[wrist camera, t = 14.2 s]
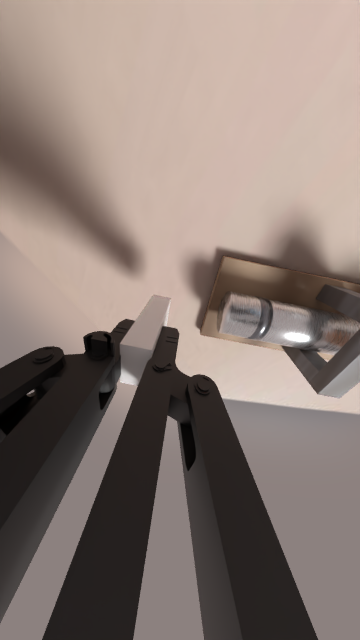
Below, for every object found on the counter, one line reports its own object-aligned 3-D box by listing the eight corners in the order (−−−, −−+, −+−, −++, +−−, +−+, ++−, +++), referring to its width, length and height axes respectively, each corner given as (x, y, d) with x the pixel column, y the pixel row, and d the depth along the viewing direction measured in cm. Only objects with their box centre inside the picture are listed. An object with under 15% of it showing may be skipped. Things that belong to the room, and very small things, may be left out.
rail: (200, 330, 19) (203, 376, 13) (223, 255, 15) (244, 272, 9) (393, 368, 20) (482, 429, 14) (471, 307, 16) (657, 358, 9)
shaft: (214, 319, 17) (219, 342, 14) (226, 285, 15) (236, 301, 12) (324, 341, 18) (356, 368, 14) (350, 310, 16) (396, 333, 12)
